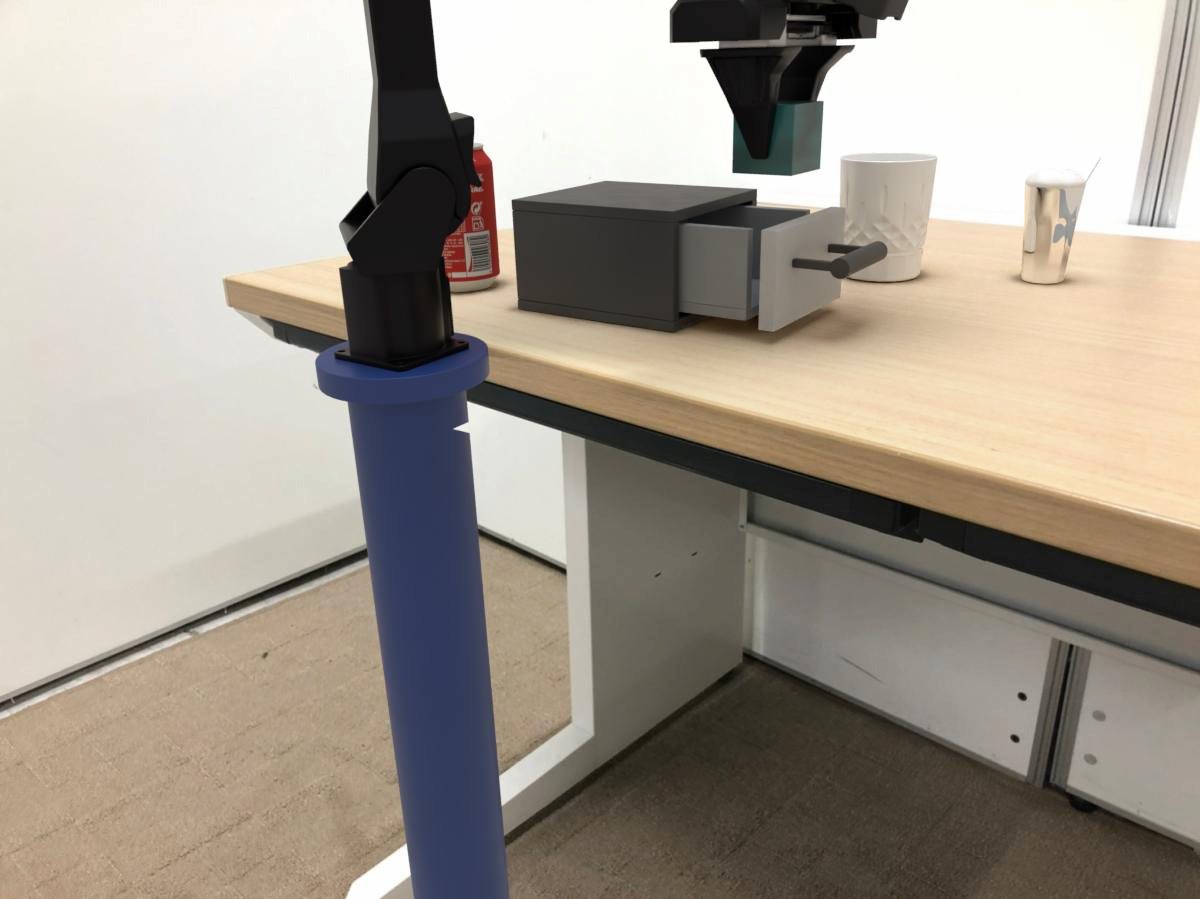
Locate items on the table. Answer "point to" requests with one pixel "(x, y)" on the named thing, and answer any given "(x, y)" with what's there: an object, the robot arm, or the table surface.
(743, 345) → the table surface
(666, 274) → the cabinet
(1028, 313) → the table surface
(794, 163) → the block
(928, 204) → the white cup
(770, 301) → the drawer
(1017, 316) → the table surface
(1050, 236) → the milkshake
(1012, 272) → the table surface
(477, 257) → the beverage can
